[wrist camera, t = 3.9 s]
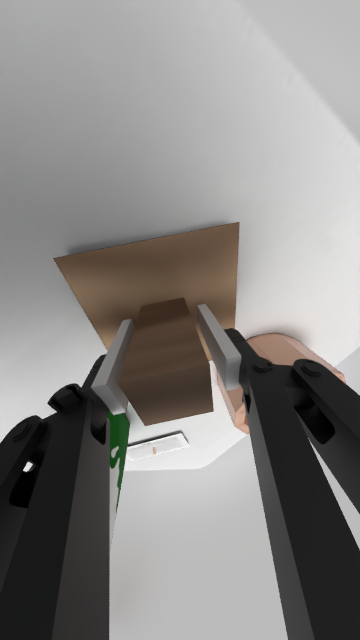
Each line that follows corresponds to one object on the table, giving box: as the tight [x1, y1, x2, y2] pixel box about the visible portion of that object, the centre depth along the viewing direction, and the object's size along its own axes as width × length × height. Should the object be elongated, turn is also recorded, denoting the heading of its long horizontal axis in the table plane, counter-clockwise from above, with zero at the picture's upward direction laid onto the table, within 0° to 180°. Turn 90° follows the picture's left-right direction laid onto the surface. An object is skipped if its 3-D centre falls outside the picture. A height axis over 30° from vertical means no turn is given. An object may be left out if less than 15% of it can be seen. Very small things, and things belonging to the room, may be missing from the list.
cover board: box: [53, 222, 239, 426], centre depth 11 cm, size 14×14×9 cm
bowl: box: [217, 333, 346, 434], centre depth 20 cm, size 13×13×6 cm
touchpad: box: [126, 433, 189, 461], centre depth 32 cm, size 8×15×2 cm, turn 105°
